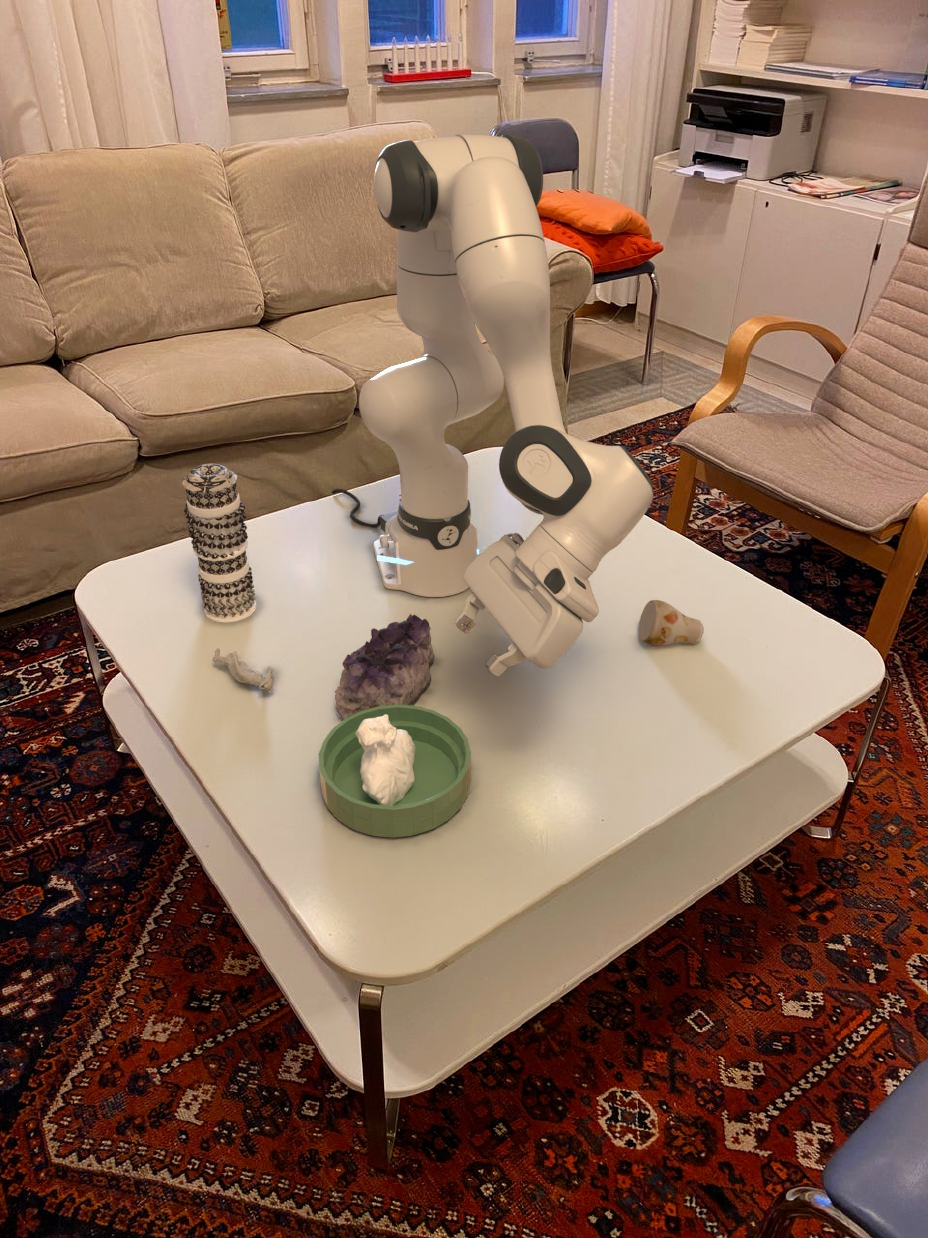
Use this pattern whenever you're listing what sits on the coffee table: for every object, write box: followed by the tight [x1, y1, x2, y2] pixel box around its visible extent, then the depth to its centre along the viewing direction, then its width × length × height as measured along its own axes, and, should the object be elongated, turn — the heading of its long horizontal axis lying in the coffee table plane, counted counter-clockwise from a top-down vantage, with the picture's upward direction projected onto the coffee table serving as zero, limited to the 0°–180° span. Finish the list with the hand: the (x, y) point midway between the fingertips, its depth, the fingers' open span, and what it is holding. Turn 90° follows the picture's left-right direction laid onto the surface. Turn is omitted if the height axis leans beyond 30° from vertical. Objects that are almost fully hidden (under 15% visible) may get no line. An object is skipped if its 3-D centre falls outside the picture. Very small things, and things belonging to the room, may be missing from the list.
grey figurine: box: [211, 647, 275, 693], centre depth 140 cm, size 8×5×12 cm
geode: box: [334, 613, 435, 721], centre depth 137 cm, size 20×12×10 cm, turn 160°
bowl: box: [318, 704, 472, 838], centre depth 122 cm, size 19×19×6 cm
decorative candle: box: [181, 463, 257, 624], centre depth 150 cm, size 9×9×25 cm
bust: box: [356, 714, 415, 806], centre depth 120 cm, size 12×8×11 cm
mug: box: [638, 599, 705, 646], centre depth 149 cm, size 8×10×10 cm
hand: (475, 649), depth 118 cm, fingers open, 8 cm apart
